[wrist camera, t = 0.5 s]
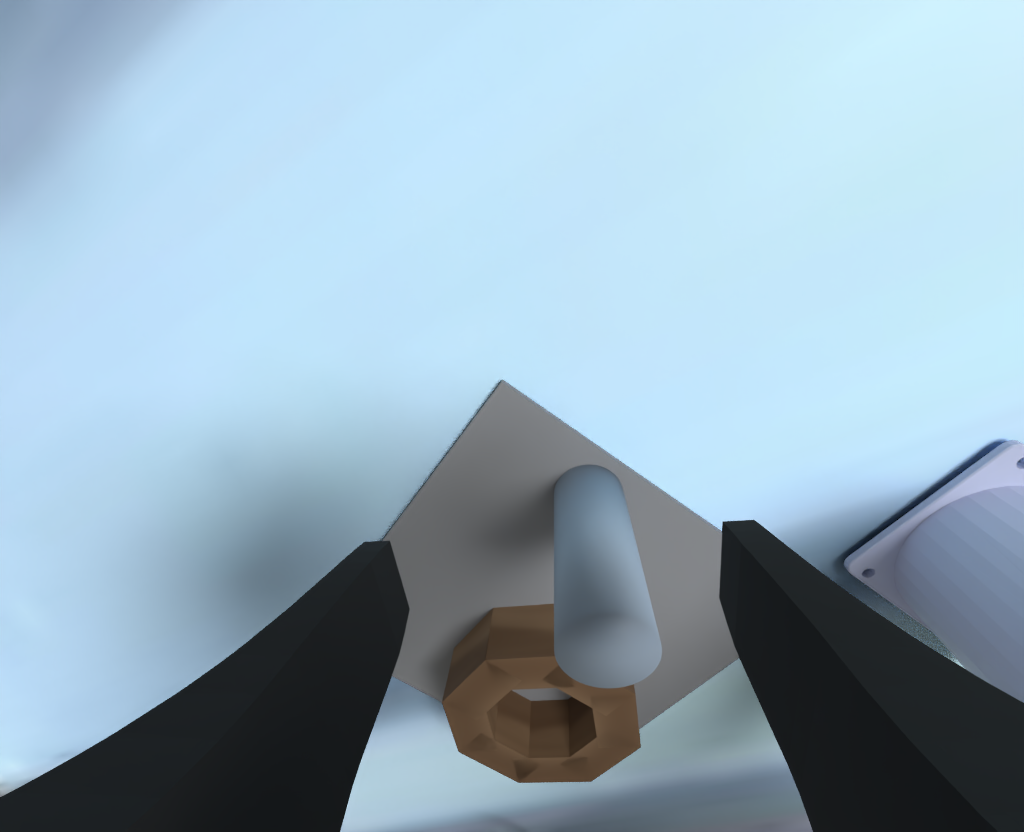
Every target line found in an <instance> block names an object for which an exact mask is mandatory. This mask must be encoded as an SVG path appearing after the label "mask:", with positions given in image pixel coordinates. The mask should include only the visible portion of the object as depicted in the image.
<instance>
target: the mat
mask: <svg viewBox="0 0 1024 832" xmlns="http://www.w3.org/2000/svg"><path fill="white" fill-rule="evenodd" d="M580 465H598V466H601V467H604V468H606V469H608V470H610V471H611V472H613V473H614V474H615V475H616V476H617V477H618V479H619V480H620V482H621V484H622V487H623V491H624V495H625V499H626V503H627V507H628V512H629V516H630V520H631V524H632V528H633V532H634V536H635V540H636V544H637V548H638V552H639V556H640V560H641V564H642V568H643V572H644V576H645V580H646V584H647V588H648V592H649V596H650V600H651V605H652V609H653V613H654V617H655V621H656V625H657V629H658V633H659V637H660V641H661V645H662V656H661V660H660V662H659V664H658V666H657V668H656V669H655V670H654V671H653V672H652V673H651V674H650V675H649V676H648V677H646V678H645V679H643V680H642V681H640V682H638V683H635V684H634V689H635V695H636V705H637V714H638V724H639V729H640V728H642V727H643V726H644V725H646V724H647V723H649V722H650V721H651V720H653V719H654V718H656V717H657V716H658V715H660V714H661V713H663V712H664V711H665V710H667V709H668V708H670V707H671V706H672V705H674V704H675V703H677V702H678V701H679V700H681V699H682V698H684V697H685V696H686V695H688V694H689V693H691V692H692V691H693V690H695V689H696V688H698V687H699V686H700V685H702V684H703V683H705V682H706V681H707V680H709V679H710V678H712V677H713V676H714V675H716V674H717V673H719V672H720V671H721V670H723V669H724V668H726V667H727V666H728V665H730V664H731V663H733V662H734V661H735V660H737V659H738V658H739V655H738V653H737V651H736V649H735V646H734V643H733V640H732V637H731V634H730V631H729V628H728V625H727V622H726V619H725V615H724V612H723V609H722V606H721V602H720V599H719V589H720V568H721V547H722V531H720V530H719V529H717V528H716V527H715V526H713V525H712V524H710V523H709V522H707V521H706V520H704V519H703V518H702V517H700V516H699V515H697V514H696V513H694V512H693V511H691V510H690V509H689V508H687V507H686V506H684V505H683V504H681V503H680V502H678V501H677V500H676V499H674V498H673V497H671V496H670V495H668V494H667V493H665V492H664V491H663V490H661V489H660V488H658V487H657V486H655V485H654V484H652V483H651V482H650V481H648V480H647V479H645V478H644V477H642V476H641V475H639V474H638V473H637V472H635V471H634V470H632V469H631V468H629V467H628V466H626V465H625V464H624V463H622V462H621V461H619V460H618V459H616V458H615V457H613V456H612V455H611V454H609V453H608V452H606V451H605V450H603V449H602V448H600V447H599V446H598V445H596V444H595V443H593V442H592V441H590V440H589V439H587V438H586V437H585V436H583V435H582V434H580V433H579V432H577V431H576V430H574V429H573V428H572V427H570V426H569V425H567V424H566V423H564V422H563V421H561V420H560V419H559V418H557V417H556V416H554V415H553V414H551V413H550V412H548V411H547V410H546V409H544V408H543V407H541V406H540V405H538V404H537V403H535V402H534V401H533V400H531V399H530V398H528V397H527V396H525V395H524V394H522V393H521V392H520V391H518V390H517V389H515V388H514V387H512V386H511V385H509V384H508V383H507V382H505V381H504V380H502V381H501V382H500V383H499V385H498V386H497V387H496V389H495V390H494V391H493V393H492V394H491V395H490V397H489V398H488V399H487V401H486V402H485V403H484V405H483V406H482V407H481V409H480V410H479V411H478V413H477V414H476V415H475V417H474V418H473V419H472V421H471V422H470V423H469V425H468V426H467V428H466V429H465V430H464V432H463V433H462V434H461V436H460V437H459V438H458V440H457V441H456V442H455V444H454V445H453V446H452V448H451V449H450V450H449V452H448V453H447V454H446V456H445V457H444V458H443V460H442V461H441V462H440V464H439V465H438V466H437V468H436V469H435V470H434V472H433V473H432V474H431V476H430V477H429V478H428V480H427V481H426V482H425V484H424V485H423V486H422V488H421V489H420V490H419V492H418V493H417V494H416V496H415V497H414V498H413V500H412V501H411V502H410V504H409V505H408V506H407V508H406V509H405V510H404V512H403V513H402V514H401V516H400V517H399V518H398V520H397V521H396V522H395V524H394V525H393V526H392V528H391V529H390V530H389V532H388V533H387V534H386V536H385V537H384V538H383V540H382V541H390V542H391V546H392V549H393V553H394V556H395V560H396V563H397V567H398V570H399V574H400V577H401V580H402V584H403V587H404V591H405V594H406V598H407V601H408V605H409V608H410V610H409V615H408V620H407V624H406V629H405V634H404V638H403V642H402V646H401V650H400V654H399V657H398V660H397V663H396V666H395V668H394V671H393V674H392V676H393V677H395V678H397V679H399V680H401V681H402V682H404V683H406V684H408V685H410V686H412V687H414V688H416V689H418V690H419V691H421V692H423V693H425V694H427V695H429V696H431V697H433V698H434V699H436V700H438V701H440V702H442V700H443V696H444V691H445V687H446V682H447V678H448V673H449V669H450V664H451V660H452V655H453V651H454V648H455V647H456V646H457V645H458V644H459V643H460V642H461V640H462V639H463V638H464V637H465V636H466V635H467V634H468V633H469V632H470V631H471V630H472V629H473V628H474V627H475V626H476V625H477V624H478V623H479V622H480V621H481V620H482V619H483V618H484V617H485V616H486V615H487V614H488V613H489V612H490V611H491V610H492V609H493V608H497V607H512V606H526V605H540V604H554V488H555V485H556V483H557V481H558V479H559V478H560V477H561V476H562V475H563V474H564V473H565V472H566V471H568V470H570V469H571V468H574V467H576V466H580ZM512 691H514V692H516V693H518V694H519V695H521V696H523V697H525V698H527V699H528V700H530V701H541V700H566V699H569V698H570V697H572V696H570V695H568V694H566V693H565V692H563V691H561V690H559V689H557V688H543V689H520V690H512Z"/></svg>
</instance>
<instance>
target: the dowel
mask: <svg viewBox="0 0 1024 832" xmlns="http://www.w3.org/2000/svg"><path fill="white" fill-rule="evenodd" d="M554 654H555V658H556V661H557V663H558V665H559V666H560V668H561V669H562V670H563V671H564V672H565V673H566V674H567V675H568V676H569V677H571V678H572V679H574V680H576V681H578V682H580V683H582V684H585V685H588V686H592V687H597V688H620V687H626V686H629V685H633V684H635V683H638V682H640V681H642V680H643V679H645V678H646V677H648V676H649V675H650V674H651V673H652V672H653V671H654V670H655V669H656V668H657V666H658V664H659V662H660V660H661V656H662V645H661V641H660V637H659V633H658V629H657V625H656V621H655V617H654V613H653V609H652V605H651V600H650V596H649V592H648V588H647V584H646V580H645V576H644V572H643V568H642V564H641V560H640V556H639V552H638V548H637V544H636V540H635V536H634V532H633V528H632V524H631V520H630V516H629V512H628V507H627V503H626V499H625V495H624V491H623V487H622V484H621V482H620V480H619V479H618V477H617V476H616V475H615V474H614V473H613V472H611V471H610V470H608V469H606V468H604V467H601V466H598V465H580V466H576V467H574V468H571V469H570V470H568V471H566V472H565V473H564V474H563V475H562V476H561V477H560V478H559V479H558V481H557V483H556V485H555V488H554Z"/></svg>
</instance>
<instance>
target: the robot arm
mask: <svg viewBox="0 0 1024 832" xmlns="http://www.w3.org/2000/svg"><path fill="white" fill-rule="evenodd" d="M1020 459H1022V460H1021V461H1020V462H1018V461H1019V460H1020ZM1017 462H1018V463H1017ZM844 566H845V568H846V569H847V570H848V571H849V572H850V574H852V575H853V576H854V577H856V578H857V579H859V580H860V581H861V582H863V583H864V584H866V585H867V586H868V587H870V588H871V589H873V590H874V591H875V592H877V593H878V594H880V595H881V596H882V597H884V598H885V599H887V600H888V601H889V602H891V603H892V604H893V605H895V606H896V607H898V608H899V609H900V610H902V611H903V612H905V613H906V614H907V615H909V616H910V617H912V618H913V619H914V620H916V621H917V622H919V623H920V624H921V625H923V626H924V627H926V628H927V629H928V630H930V631H931V632H933V633H934V634H935V635H936V637H937V638H938V639H939V640H940V641H941V642H942V643H943V644H944V645H945V647H946V648H947V649H948V650H949V651H950V652H951V653H952V654H953V656H954V657H955V658H956V659H957V660H958V661H959V662H960V663H961V665H962V666H963V667H964V668H965V669H964V668H963V667H961V666H959V665H958V664H956V663H954V662H953V661H951V660H949V659H948V658H946V657H944V656H943V655H941V654H939V653H938V652H936V651H934V650H933V649H931V648H929V647H928V646H926V645H925V644H923V643H922V642H920V641H918V640H917V639H915V638H914V637H912V636H911V635H909V634H908V633H906V632H905V631H903V630H902V629H900V628H899V627H897V626H896V625H894V624H893V623H891V622H890V621H888V620H887V619H885V618H884V617H882V616H881V615H879V614H878V613H876V612H875V611H874V610H872V609H871V608H869V607H868V606H866V605H865V604H863V603H862V602H861V601H859V600H858V599H856V598H855V597H854V596H852V595H851V594H849V593H848V592H847V591H845V590H844V589H843V588H841V587H840V586H839V585H837V584H836V583H834V582H833V581H832V580H830V579H829V578H828V577H826V576H825V575H824V574H822V573H821V572H820V571H819V570H817V569H816V568H815V567H813V566H812V565H811V564H809V563H808V562H807V561H806V560H804V559H803V558H802V557H800V556H799V555H798V554H797V553H795V552H794V551H793V550H792V549H790V548H789V547H788V546H786V545H785V544H784V543H783V542H781V541H780V540H779V539H778V538H776V537H775V536H774V535H773V534H771V533H770V532H769V531H768V530H766V529H765V528H764V527H763V526H761V525H760V524H759V523H757V522H756V521H755V520H745V521H727V522H723V526H722V547H721V568H720V589H719V599H720V602H721V606H722V609H723V612H724V615H725V619H726V622H727V625H728V628H729V631H730V634H731V637H732V640H733V643H734V646H735V649H736V651H737V653H738V655H739V658H740V660H741V662H742V664H743V667H744V669H745V671H746V673H747V676H748V678H749V680H750V682H751V685H752V687H753V689H754V691H755V693H756V696H757V698H758V700H759V702H760V704H761V707H762V709H763V711H764V713H765V716H766V718H767V720H768V722H769V724H770V727H771V729H772V731H773V733H774V735H775V738H776V740H777V742H778V744H779V746H780V749H781V751H782V753H783V755H784V757H785V760H786V762H787V764H788V766H789V769H790V771H791V774H792V776H793V779H794V781H795V784H796V786H797V788H798V791H799V793H800V796H801V799H802V801H803V804H804V807H805V810H806V813H807V816H808V818H809V821H810V824H811V827H812V830H813V832H1024V444H1023V443H1021V442H1019V441H1016V440H1010V441H1006V442H1004V443H1002V444H1000V445H999V446H997V447H996V448H995V449H993V450H992V451H991V452H989V453H988V454H987V455H985V456H984V457H983V458H981V459H980V460H978V461H977V462H976V463H974V464H973V465H972V466H970V467H969V468H968V469H966V470H965V471H963V472H962V473H961V474H959V475H958V476H957V477H955V478H954V479H953V480H951V481H950V482H949V483H947V484H946V485H944V486H943V487H942V488H940V489H939V490H938V491H936V492H935V493H934V494H932V495H931V496H930V497H928V498H927V499H925V500H924V501H923V502H921V503H920V504H919V505H917V506H916V507H915V508H913V509H912V510H910V511H909V512H908V513H906V514H905V515H904V516H902V517H901V518H900V519H898V520H897V521H896V522H894V523H893V524H891V525H890V526H889V527H887V528H886V529H885V530H883V531H882V532H881V533H879V534H878V535H877V536H875V537H874V538H872V539H871V540H870V541H868V542H867V543H866V544H864V545H863V546H862V547H860V548H859V549H857V550H856V551H855V552H853V553H852V554H851V555H849V556H848V557H847V558H846V559H845V561H844ZM866 569H868V570H866ZM864 570H866V571H864ZM409 610H410V608H409V605H408V601H407V598H406V594H405V591H404V587H403V584H402V580H401V577H400V574H399V570H398V567H397V563H396V560H395V556H394V553H393V549H392V546H391V542H390V541H375V542H364V543H363V544H362V545H360V546H359V547H358V548H357V549H355V550H354V551H353V552H352V553H351V554H350V555H348V556H347V557H346V558H345V559H344V560H343V561H342V562H340V563H339V564H338V565H337V566H336V567H335V568H334V569H333V570H331V571H330V572H329V573H328V574H327V575H326V576H325V577H324V578H322V579H321V580H320V581H319V582H318V583H317V584H316V585H315V586H313V587H312V588H311V589H310V590H309V591H308V592H307V593H305V594H304V595H303V596H302V597H301V598H300V599H299V600H297V601H296V602H295V603H294V604H293V605H292V606H291V607H289V608H288V609H287V610H286V611H285V612H283V613H282V614H281V615H280V616H279V617H277V618H276V619H275V620H274V621H272V622H271V623H270V624H269V625H268V626H266V627H265V628H264V629H263V630H261V631H260V632H259V633H258V634H257V635H255V636H254V637H253V638H252V639H250V640H249V641H248V642H247V643H246V644H244V645H243V646H242V647H240V648H239V649H238V650H237V651H235V652H234V653H233V654H231V655H230V656H229V657H227V658H226V659H225V660H223V661H222V662H221V663H219V664H218V665H217V666H215V667H214V668H212V669H211V670H210V671H208V672H207V673H205V674H204V675H202V676H201V677H200V678H198V679H197V680H195V681H194V682H193V683H191V684H190V685H188V686H187V687H186V688H184V689H183V690H181V691H180V692H178V693H177V694H175V695H174V696H172V697H171V698H169V699H167V700H166V701H164V702H163V703H161V704H160V705H158V706H156V707H155V708H153V709H152V710H150V711H149V712H147V713H146V714H144V715H142V716H141V717H139V718H138V719H136V720H135V721H133V722H131V723H130V724H128V725H127V726H125V727H124V728H122V729H121V730H119V731H117V732H116V733H114V734H112V735H111V736H109V737H107V738H106V739H104V740H102V741H101V742H99V743H97V744H96V745H94V746H92V747H90V748H89V749H87V750H85V751H84V752H82V753H80V754H79V755H77V756H75V757H73V758H72V759H70V760H68V761H66V762H64V763H63V764H61V765H59V766H57V767H56V768H54V769H52V770H50V771H48V772H47V773H45V774H43V775H41V776H39V777H38V778H36V779H34V780H32V781H30V782H28V783H27V784H25V785H23V786H21V787H19V788H17V789H15V790H14V791H12V792H10V793H8V794H6V795H4V796H2V797H0V832H340V830H341V826H342V822H343V819H344V815H345V811H346V808H347V804H348V800H349V797H350V793H351V789H352V786H353V783H354V780H355V777H356V774H357V771H358V768H359V764H360V761H361V759H362V756H363V753H364V750H365V748H366V745H367V742H368V740H369V737H370V734H371V731H372V729H373V726H374V723H375V721H376V718H377V715H378V712H379V710H380V707H381V704H382V702H383V699H384V696H385V693H386V691H387V688H388V685H389V682H390V679H391V677H392V674H393V671H394V668H395V666H396V663H397V660H398V657H399V654H400V650H401V646H402V642H403V638H404V634H405V629H406V624H407V620H408V615H409Z"/></svg>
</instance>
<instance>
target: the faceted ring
mask: <svg viewBox="0 0 1024 832" xmlns="http://www.w3.org/2000/svg"><path fill="white" fill-rule="evenodd" d="M543 688H557V689H559V690H561V691H563V692H565V693H566V694H568V695H570V696H572V697H570V698H569V699H566V700H541V701H530V700H528V699H527V698H525V697H523V696H521V695H519V694H518V693H516V692H514V691H512V690H520V689H543ZM442 704H443V707H444V710H445V713H446V716H447V719H448V722H449V725H450V728H451V731H452V734H453V737H454V739H455V742H456V745H457V748H458V751H459V752H460V753H462V754H464V755H466V756H468V757H470V758H472V759H474V760H476V761H477V762H479V763H481V764H483V765H485V766H487V767H489V768H491V769H493V770H495V771H497V772H499V773H501V774H503V775H505V776H507V777H509V778H511V779H512V780H514V781H516V782H518V783H532V782H591V781H593V780H594V779H596V778H597V777H598V776H600V775H601V774H603V773H604V772H606V771H607V770H609V769H610V768H611V767H613V766H614V765H616V764H617V763H619V762H620V761H622V760H623V759H624V758H626V757H627V756H629V755H630V754H632V753H633V752H635V751H636V750H637V749H639V748H640V747H641V744H640V734H639V724H638V714H637V705H636V695H635V689H634V684H633V685H629V686H626V687H620V688H597V687H592V686H588V685H585V684H582V683H580V682H578V681H576V680H574V679H572V678H571V677H569V676H568V675H567V674H566V673H565V672H564V671H563V670H562V669H561V668H560V666H559V665H558V663H557V661H556V658H555V654H554V604H540V605H526V606H512V607H497V608H493V609H492V610H491V611H490V612H489V613H488V614H487V615H486V616H485V617H484V618H483V619H482V620H481V621H480V622H479V623H478V624H477V625H476V626H475V627H474V628H473V629H472V630H471V631H470V632H469V633H468V634H467V635H466V636H465V637H464V638H463V639H462V640H461V642H460V643H459V644H458V645H457V646H456V647H455V648H454V651H453V655H452V660H451V664H450V669H449V673H448V678H447V682H446V687H445V691H444V696H443V700H442Z"/></svg>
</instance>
